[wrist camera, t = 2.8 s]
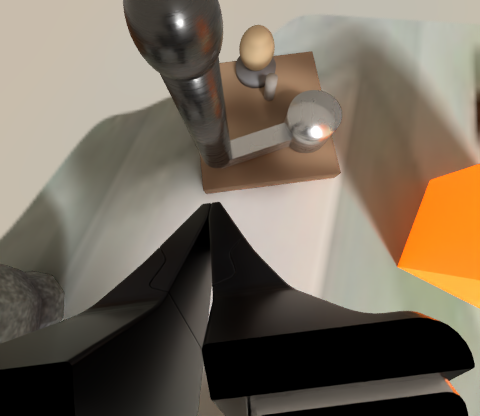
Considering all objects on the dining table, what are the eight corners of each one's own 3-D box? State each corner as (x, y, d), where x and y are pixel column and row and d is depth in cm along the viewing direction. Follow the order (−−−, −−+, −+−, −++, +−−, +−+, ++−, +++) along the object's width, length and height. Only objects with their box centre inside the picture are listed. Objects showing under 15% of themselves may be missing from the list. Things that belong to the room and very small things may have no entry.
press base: (334, 177, 17) (368, 153, 12) (206, 193, 17) (191, 175, 12) (307, 59, 19) (327, 1, 15) (195, 73, 19) (179, 20, 15)
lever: (334, 144, 16) (562, -99, 5) (209, 187, 16) (113, 35, 4) (316, 106, 17) (473, -187, 5) (196, 146, 16) (82, -81, 5)
